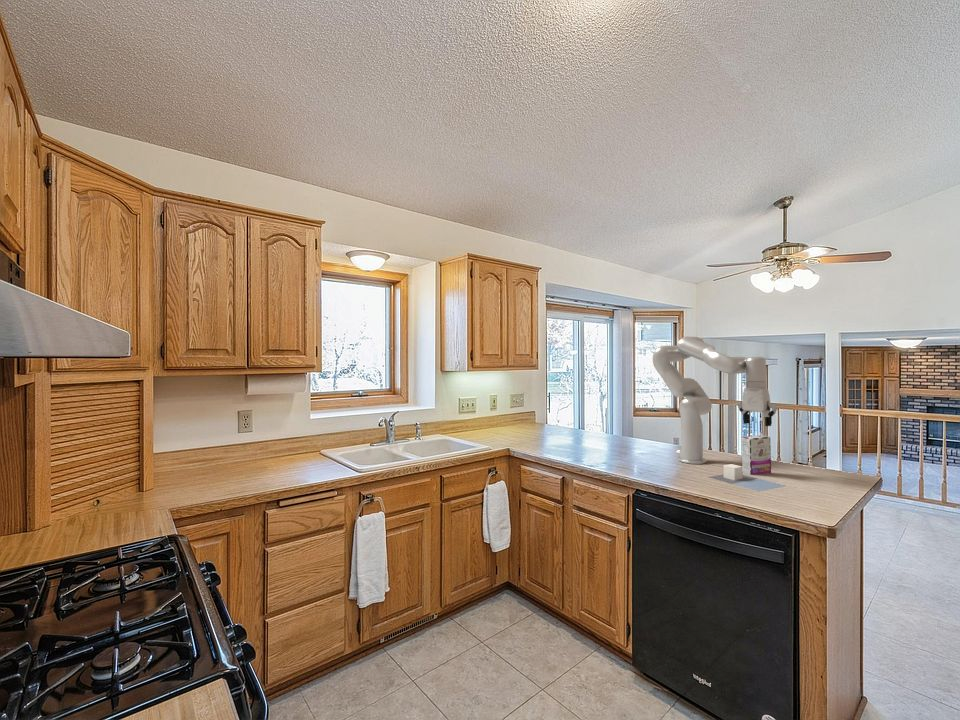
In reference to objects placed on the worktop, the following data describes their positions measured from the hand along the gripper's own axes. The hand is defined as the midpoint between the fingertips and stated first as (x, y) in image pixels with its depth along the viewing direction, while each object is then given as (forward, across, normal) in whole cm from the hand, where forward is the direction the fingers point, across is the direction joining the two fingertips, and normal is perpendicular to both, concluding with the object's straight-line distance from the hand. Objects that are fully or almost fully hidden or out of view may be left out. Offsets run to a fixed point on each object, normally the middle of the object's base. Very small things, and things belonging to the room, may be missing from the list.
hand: (757, 424), depth 196 cm
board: (+22, +6, -17) cm, 28 cm away
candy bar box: (+22, -1, 0) cm, 22 cm away
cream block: (+21, +1, -17) cm, 27 cm away
